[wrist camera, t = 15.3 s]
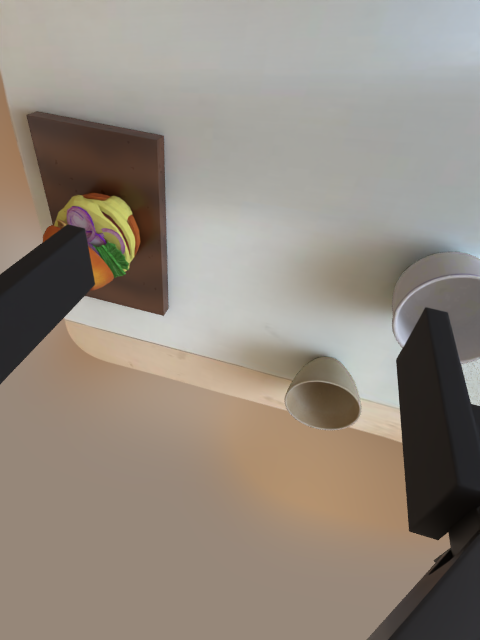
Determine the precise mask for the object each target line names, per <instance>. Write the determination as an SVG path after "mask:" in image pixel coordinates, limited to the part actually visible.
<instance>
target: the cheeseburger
mask: <svg viewBox="0 0 480 640" xmlns="http://www.w3.org/2000/svg"><path fill="white" fill-rule="evenodd" d="M67 224H69V225H73V226H77V227H82V228H85V231H86V237H87V242H88V248H89V253H90V258H91V264H92V269H93V275H94V280H95V285H94V286H93V288H92V289H91V290H96V289H99V288H101V287H103V286H105V285H106V284H108V283H110V282H111V281H112V280H113V279H114V277H115V278H116V277H117V276H123V275H125V274H126V273H125V271H127V270H129V265H130V262H131V261H132V260H133V258H134V257H135V255H136V253H137V251H138V248H139V245H140V234H139V229H138V226H137V224H136V222H135V219H134V217H133V215H132V211H131V209H130V207H129V206H128V205H127V204H126V202H125V201H123V200H122V199H120V198H119V197H116V196H111V197H110V196H108V195H103V194H98V193H89V194H84V195H77V196H73V197H72V198H71V199H70V201H69V202H68V203H67V204H66V206H65V207H64V208H63V209H62V210H60V211H59V212H58V215H57V218H56V221H55V224H54V226H53V225H51V226H49V227H48V228H47V229H46V231H45V233H44V235H43V242H44V241H46V240H47V239H48V238H50V237H51V236H52V235H54V234H55V233H56V232H58V231H59V230H60V229H62V228H63V227H64V226H66V225H67Z"/></svg>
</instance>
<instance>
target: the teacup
mask: <svg viewBox="0 0 480 640" xmlns="http://www.w3.org/2000/svg"><path fill="white" fill-rule="evenodd" d="M425 307H427V308H432V309H436V310H440V311H445V312H448V315H449V319H450V323H451V327H452V331H453V335H454V339H455V343H456V347H457V351H458V355H459V359H460V363H461V364H464V363H468V362H472V361H475V360H478V359H480V259H479V258H477V257H475V256H472V255H470V254H466V253H460V252H442V253H437V254H432V255H430V256H427V257H424V258H422V259H420V260H418V261H417V262H415V263H414V264H412V265H411V266H410V267H409V268H407V269H406V270H405V272H404V273H403V274H402V275H401V277H400V278H399V280H398V281H397V284H396V286H395V289H394V293H393V300H392V311H393V319H392V328H393V333H394V336H395V338H396V340H397V341H398V343H399V344H400V346H401V347H402V348H403V347H404V345H405V343H406V341H407V340H408V338H409V336H410V334H411V332H412V330H413V329H414V327H415V325H416V323H417V321H418V320H419V318H420V316H421V314H422V312H423V311H424V309H425Z"/></svg>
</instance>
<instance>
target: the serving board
mask: <svg viewBox="0 0 480 640" xmlns="http://www.w3.org/2000/svg"><path fill="white" fill-rule="evenodd" d="M27 119H28V123H29V127H30V132H31V136H32V140H33V144H34V148H35V152H36V156H37V160H38V165H39V169H40V173H41V177H42V181H43V185H44V189H45V194H46V198H47V202H48V206H49V210H50V214H51V218H52V222H53V226H54V224H55V221H56V218H57V215H58V212H59V211H60V210H62V209H63V208H64V207H65V206H66V204H67V203H68V202H69V201H70V199H71V198H72V197H73V196H77V195H84V194H89V193H98V194H103V195H108V196H110V197H111V196H116V197H119V198H120V199H122V200H123V201H125V202H126V204H127V205H128V206H129V207H130V209H131V211H132V215H133V217H134V219H135V222H136V224H137V226H138V229H139V234H140V245H139V248H138V251H137V253H136V255H135V257H134V258H133V260H132V261H131V262H130V265H129V270H127V271H125V273H126V274H125V275H123V276H117V277H116V278H115V277H114V279H113V280H112V281H111V282H110V283H108V284H106V285H105V286H103V287H101V288H99V289H96V290H90V291H89V292H88V293H87V294H86V295H85V296H88V297H92V298H96V299H100V300H104V301H108V302H112V303H116V304H119V305H123V306H127V307H131V308H135V309H139V310H143V311H147V312H151V313H155V314H159V315H163V316H164V314H165V313H166V311H167V310H168V275H167V240H166V204H165V168H164V136H162V135H157V134H152V133H146V132H141V131H136V130H131V129H126V128H120V127H115V126H110V125H105V124H100V123H94V122H89V121H84V120H79V119H74V118H69V117H63V116H58V115H53V114H48V113H43V112H34V113H31V114H28V115H27Z"/></svg>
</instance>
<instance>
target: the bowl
mask: <svg viewBox="0 0 480 640" xmlns="http://www.w3.org/2000/svg"><path fill="white" fill-rule="evenodd" d="M285 406H286V408H287V410H288V412H289V413H290V414H291V415H292V416H293V417H294V418H295V419H296V420H298V421H299V422H301V423H303V424H305V425H307V426H310V427H313V428H316V429H322V430H338V429H344V428H346V427H349V426H351V425H353V424H354V423H355V422H356V421H357V420H358V419H359V417H360V415H361V402H360V397H359V393H358V390H357V387H356V385H355V382H354V380H353V378H352V377H351V375H350V373H349V372H348V370H347V369H346V368H345V367H344V366H343V364H342V363H341V362H339V361H338V360H336V359H334V358H331V357H319V358H316V359H314V360H312V361H311V362H309V363H308V364H307V365H306V366H304V367H303V368H302V369H301V370H300V371H299V373H298V374H297V375H296V376H295V378H294V379H293V381H292V383H291V384H290V386H289V388H288V391H287V393H286V396H285Z"/></svg>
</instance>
